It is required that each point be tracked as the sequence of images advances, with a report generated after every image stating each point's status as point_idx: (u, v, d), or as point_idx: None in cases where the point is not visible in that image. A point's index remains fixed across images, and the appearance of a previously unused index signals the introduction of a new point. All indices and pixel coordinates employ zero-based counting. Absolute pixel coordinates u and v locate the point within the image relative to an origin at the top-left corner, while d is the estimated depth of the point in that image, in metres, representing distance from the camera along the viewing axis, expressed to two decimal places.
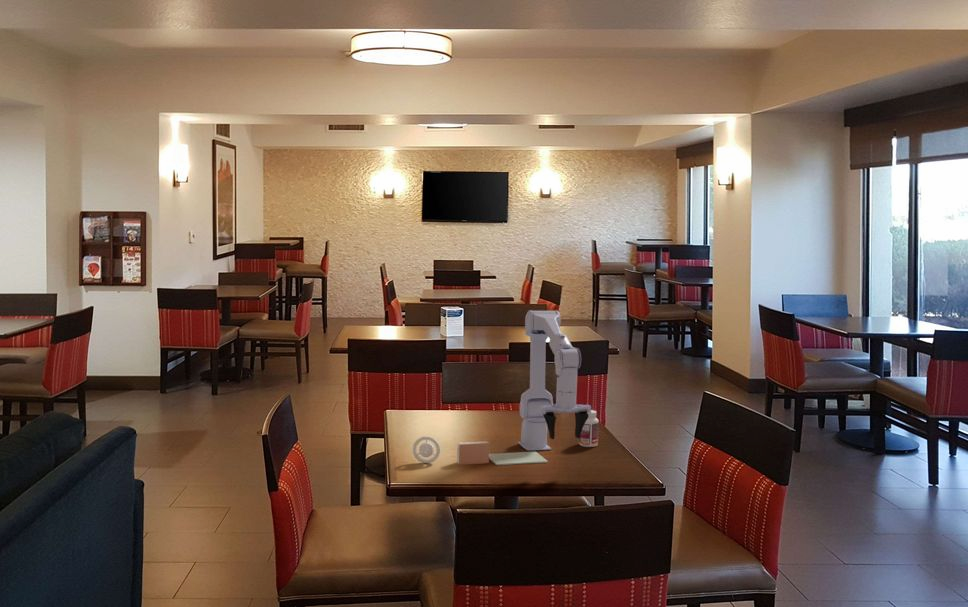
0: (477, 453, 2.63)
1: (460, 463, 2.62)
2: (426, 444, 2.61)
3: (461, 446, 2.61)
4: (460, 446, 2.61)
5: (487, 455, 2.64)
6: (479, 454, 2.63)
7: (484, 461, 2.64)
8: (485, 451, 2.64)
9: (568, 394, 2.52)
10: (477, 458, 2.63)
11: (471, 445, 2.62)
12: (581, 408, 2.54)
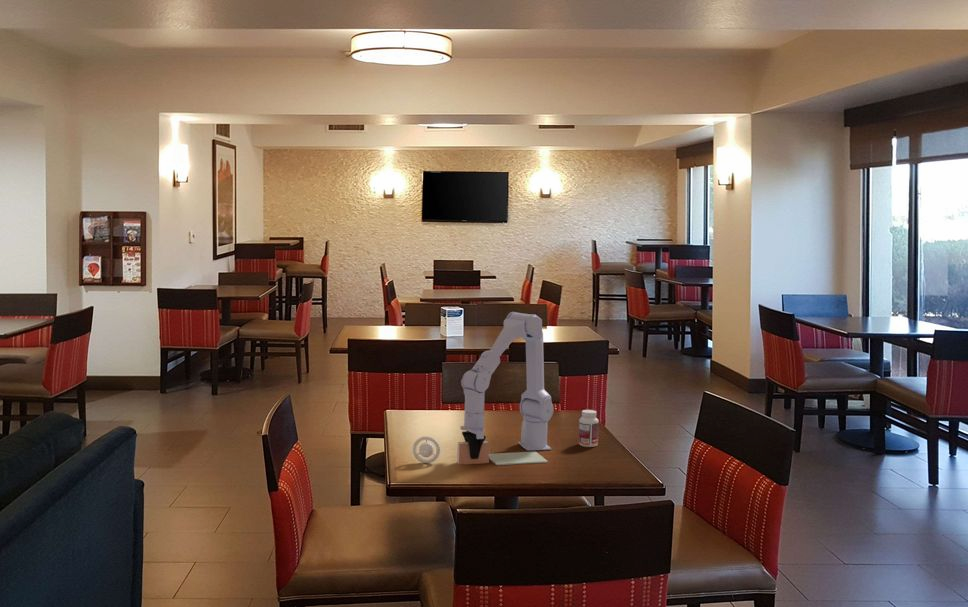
0: None
1: (460, 463, 2.62)
2: (426, 444, 2.61)
3: (461, 446, 2.61)
4: (460, 446, 2.61)
5: (487, 455, 2.64)
6: (479, 454, 2.63)
7: (484, 461, 2.64)
8: (485, 451, 2.64)
9: None
10: None
11: None
12: (471, 431, 2.59)
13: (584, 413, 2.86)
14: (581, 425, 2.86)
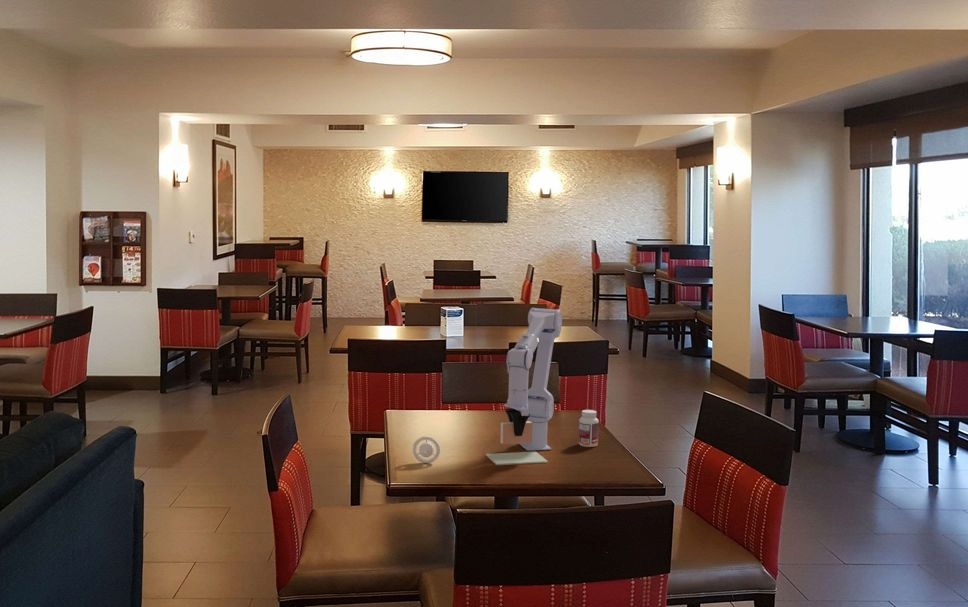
0: None
1: (504, 443, 2.64)
2: (426, 444, 2.61)
3: (505, 426, 2.64)
4: (504, 426, 2.63)
5: (530, 435, 2.66)
6: (522, 434, 2.65)
7: (527, 440, 2.66)
8: (528, 431, 2.66)
9: None
10: (520, 438, 2.65)
11: None
12: (516, 408, 2.61)
13: (584, 413, 2.86)
14: (581, 425, 2.86)
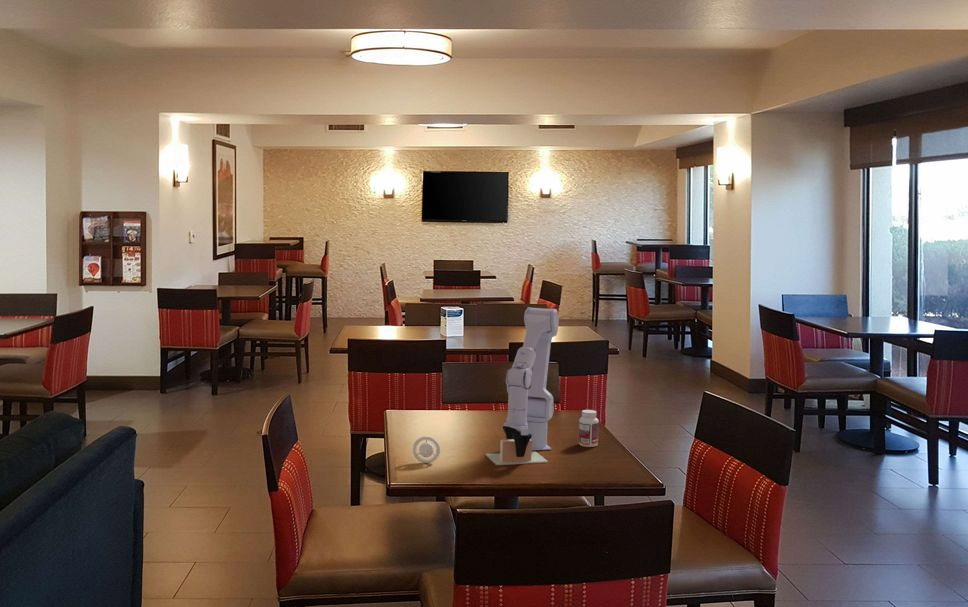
0: None
1: (503, 460, 2.64)
2: (426, 444, 2.61)
3: (504, 443, 2.64)
4: (503, 443, 2.64)
5: (530, 453, 2.67)
6: None
7: (527, 458, 2.66)
8: (528, 448, 2.66)
9: (508, 409, 2.65)
10: None
11: (514, 442, 2.65)
12: (515, 427, 2.61)
13: (584, 413, 2.86)
14: (581, 425, 2.86)
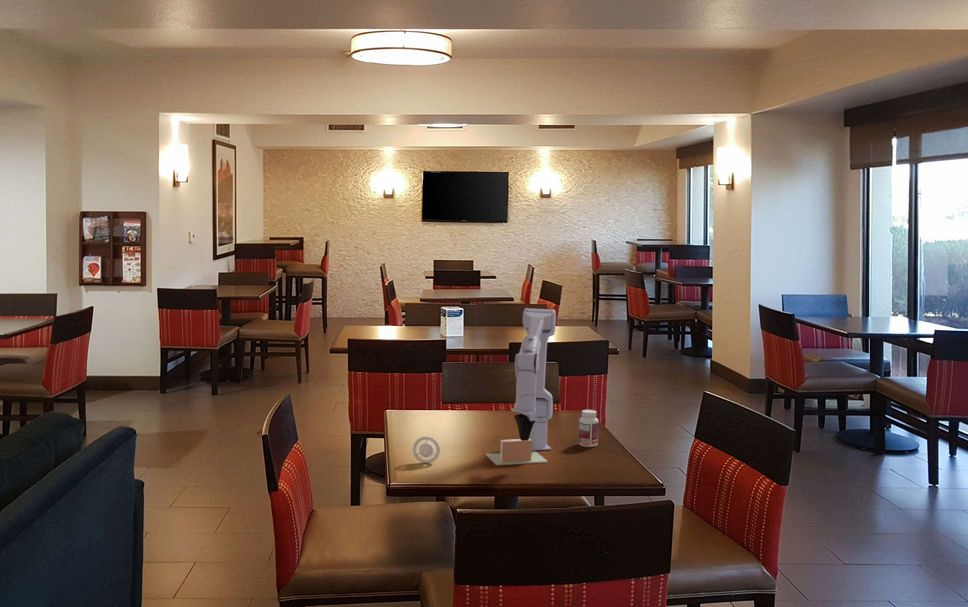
0: (520, 450, 2.66)
1: (503, 460, 2.64)
2: (426, 444, 2.61)
3: (504, 443, 2.64)
4: (503, 443, 2.64)
5: (530, 453, 2.67)
6: (522, 451, 2.66)
7: (527, 458, 2.66)
8: (528, 448, 2.66)
9: (516, 395, 2.58)
10: (520, 455, 2.66)
11: (514, 442, 2.65)
12: (524, 413, 2.54)
13: (584, 413, 2.86)
14: (581, 425, 2.86)
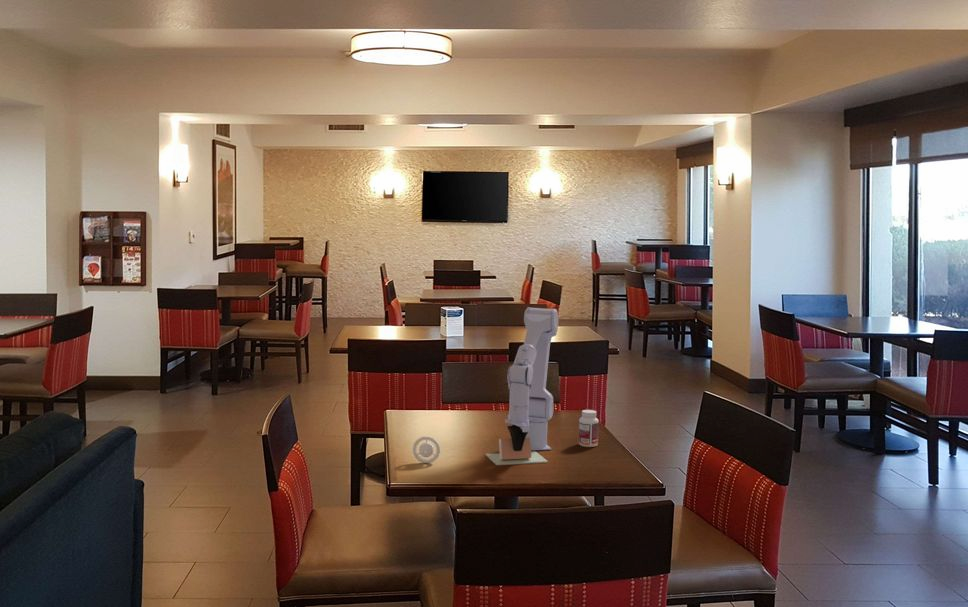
0: None
1: (503, 458, 2.65)
2: (426, 444, 2.61)
3: (503, 440, 2.66)
4: (502, 440, 2.65)
5: (529, 450, 2.67)
6: None
7: (526, 456, 2.67)
8: (526, 446, 2.67)
9: (509, 406, 2.64)
10: (519, 453, 2.66)
11: None
12: (517, 424, 2.60)
13: (584, 413, 2.86)
14: (581, 425, 2.86)
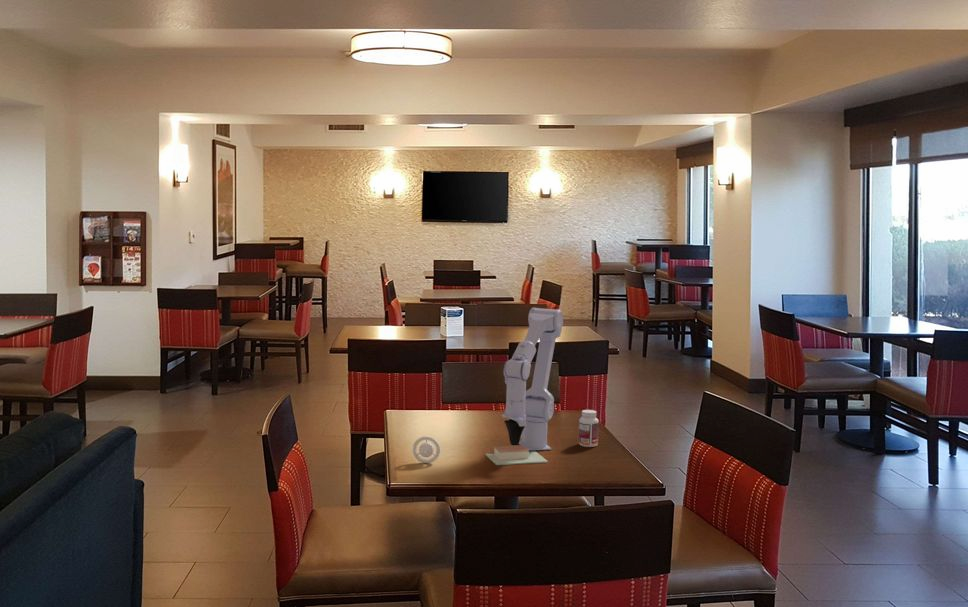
0: (514, 448, 2.71)
1: (501, 451, 2.67)
2: (426, 444, 2.61)
3: (496, 447, 2.72)
4: (495, 447, 2.72)
5: (525, 448, 2.71)
6: (516, 448, 2.71)
7: (524, 450, 2.69)
8: (521, 447, 2.72)
9: (506, 401, 2.66)
10: (516, 449, 2.70)
11: (505, 446, 2.73)
12: (513, 419, 2.63)
13: (584, 413, 2.86)
14: (581, 425, 2.86)
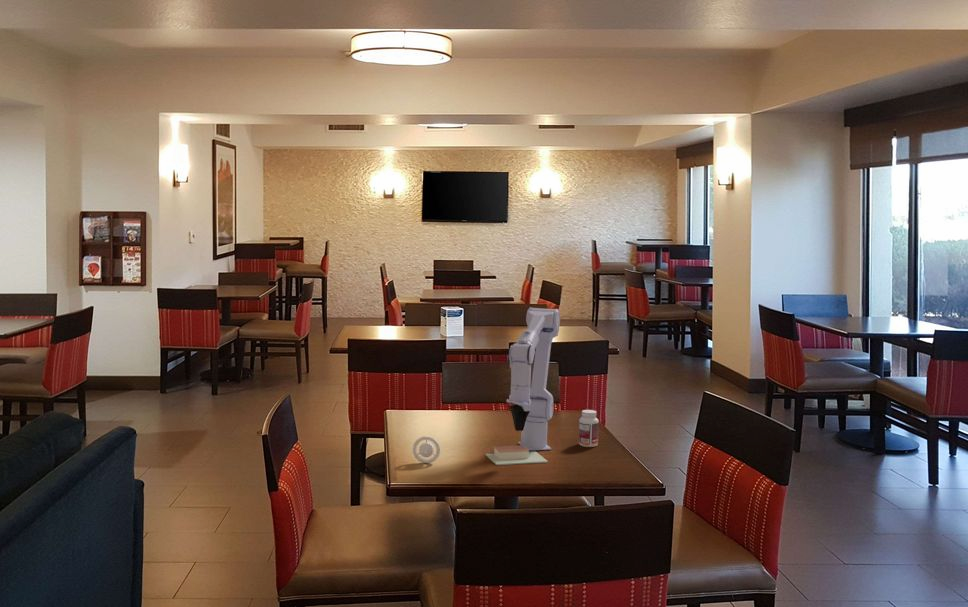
0: (514, 448, 2.71)
1: (501, 451, 2.67)
2: (426, 444, 2.61)
3: (496, 447, 2.72)
4: (495, 447, 2.72)
5: (525, 448, 2.71)
6: (516, 448, 2.71)
7: (524, 450, 2.69)
8: (521, 447, 2.72)
9: (511, 386, 2.62)
10: (516, 449, 2.70)
11: (505, 446, 2.73)
12: (518, 403, 2.59)
13: (584, 413, 2.86)
14: (581, 425, 2.86)
